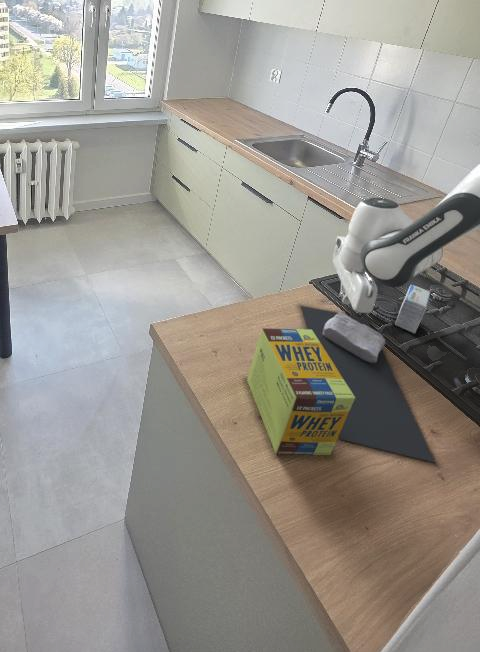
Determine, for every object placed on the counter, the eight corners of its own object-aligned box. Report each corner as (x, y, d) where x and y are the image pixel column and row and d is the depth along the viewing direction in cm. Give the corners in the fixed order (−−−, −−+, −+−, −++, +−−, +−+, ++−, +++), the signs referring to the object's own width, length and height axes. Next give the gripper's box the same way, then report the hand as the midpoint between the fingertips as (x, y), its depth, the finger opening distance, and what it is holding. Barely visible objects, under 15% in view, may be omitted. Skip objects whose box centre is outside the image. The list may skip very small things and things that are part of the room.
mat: (366, 318, 108) (367, 318, 107) (435, 463, 75) (435, 462, 75) (300, 306, 111) (300, 305, 111) (339, 439, 79) (339, 439, 79)
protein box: (275, 456, 75) (296, 398, 69) (246, 380, 89) (260, 326, 83) (332, 456, 76) (357, 398, 69) (293, 381, 90) (312, 327, 84)
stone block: (331, 322, 108) (318, 335, 101) (338, 307, 106) (325, 319, 100) (382, 352, 100) (372, 369, 93) (391, 336, 99) (381, 352, 92)
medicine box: (414, 334, 103) (427, 308, 100) (393, 324, 106) (405, 298, 102) (419, 317, 109) (431, 291, 105) (399, 308, 111) (410, 283, 108)
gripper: (391, 287, 93) (371, 333, 98) (360, 236, 111) (345, 278, 117) (360, 282, 94) (342, 327, 100) (335, 232, 112) (321, 273, 118)
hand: (344, 300), depth 108 cm, fingers closed
